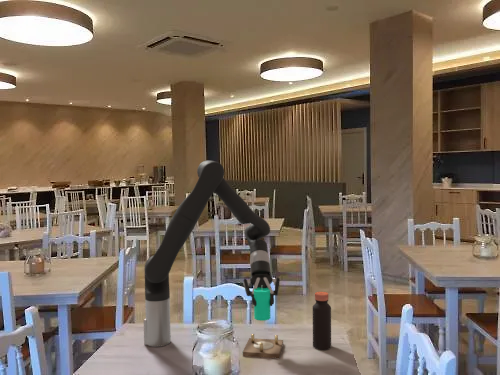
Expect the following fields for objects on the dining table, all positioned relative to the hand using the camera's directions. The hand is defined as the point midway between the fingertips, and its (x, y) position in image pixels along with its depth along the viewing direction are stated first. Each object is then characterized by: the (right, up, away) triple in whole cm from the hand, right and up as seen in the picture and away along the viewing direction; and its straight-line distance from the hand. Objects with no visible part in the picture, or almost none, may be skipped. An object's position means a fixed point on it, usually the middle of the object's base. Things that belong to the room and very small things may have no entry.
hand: (263, 305), depth 162 cm
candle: (0, -5, +2) cm, 6 cm away
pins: (0, -16, +1) cm, 16 cm away
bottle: (+22, -17, +5) cm, 28 cm away
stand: (0, -17, +2) cm, 17 cm away
